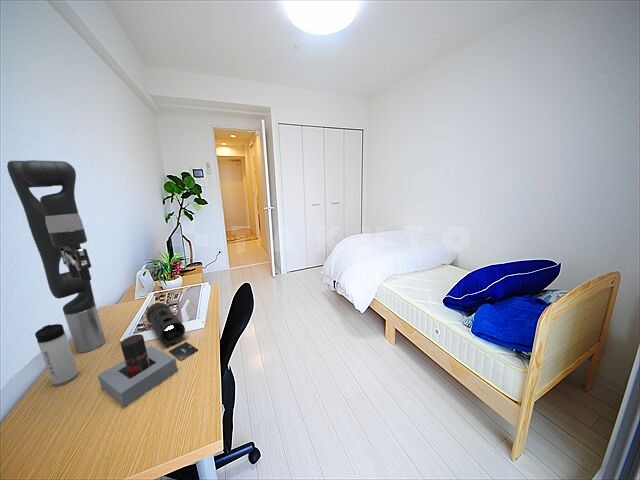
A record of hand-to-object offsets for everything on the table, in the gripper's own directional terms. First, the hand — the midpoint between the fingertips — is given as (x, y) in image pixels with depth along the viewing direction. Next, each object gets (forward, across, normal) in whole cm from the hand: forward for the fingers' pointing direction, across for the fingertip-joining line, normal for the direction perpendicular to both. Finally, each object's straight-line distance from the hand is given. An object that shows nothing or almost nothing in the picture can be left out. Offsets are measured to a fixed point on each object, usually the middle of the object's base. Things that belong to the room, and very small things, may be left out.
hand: (81, 279), depth 76 cm
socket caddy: (+36, +13, +4) cm, 39 cm away
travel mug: (+36, -12, -8) cm, 39 cm away
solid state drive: (+37, +13, +19) cm, 43 cm away
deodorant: (+36, +13, +4) cm, 39 cm away
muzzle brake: (+36, -8, +24) cm, 44 cm away
